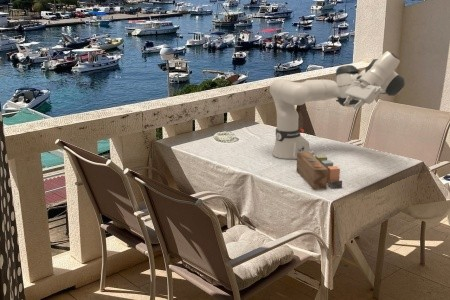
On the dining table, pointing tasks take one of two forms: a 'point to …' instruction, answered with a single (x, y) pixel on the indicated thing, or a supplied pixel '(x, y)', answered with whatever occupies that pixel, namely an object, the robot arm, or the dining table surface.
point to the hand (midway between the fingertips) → (349, 106)
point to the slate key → (327, 163)
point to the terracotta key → (333, 174)
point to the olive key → (321, 158)
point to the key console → (314, 171)
